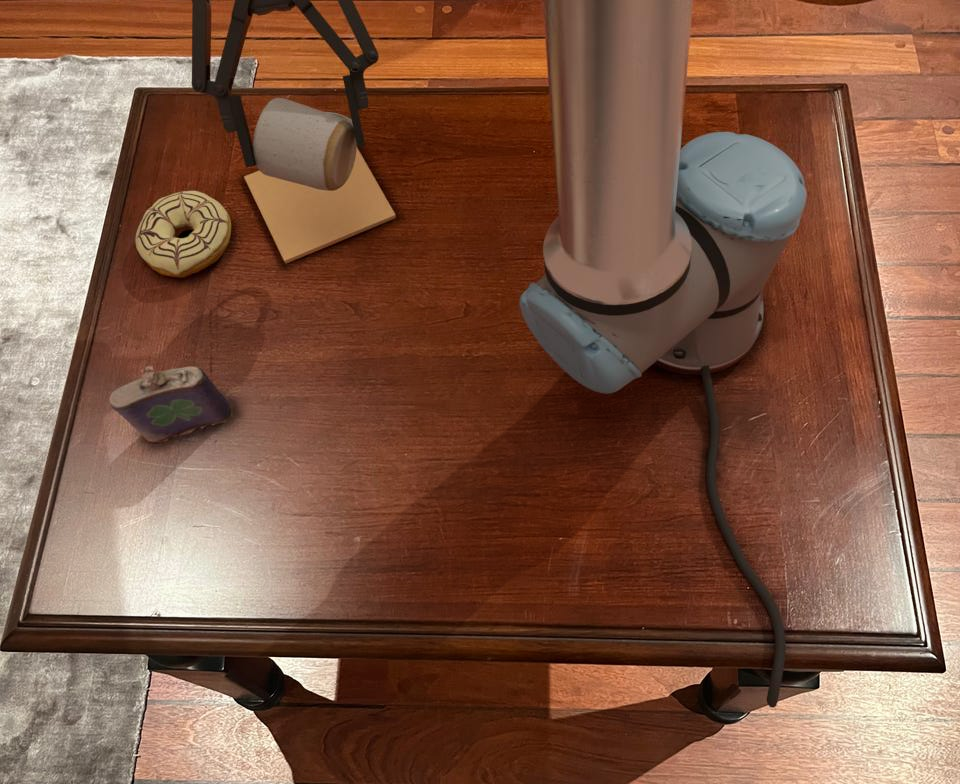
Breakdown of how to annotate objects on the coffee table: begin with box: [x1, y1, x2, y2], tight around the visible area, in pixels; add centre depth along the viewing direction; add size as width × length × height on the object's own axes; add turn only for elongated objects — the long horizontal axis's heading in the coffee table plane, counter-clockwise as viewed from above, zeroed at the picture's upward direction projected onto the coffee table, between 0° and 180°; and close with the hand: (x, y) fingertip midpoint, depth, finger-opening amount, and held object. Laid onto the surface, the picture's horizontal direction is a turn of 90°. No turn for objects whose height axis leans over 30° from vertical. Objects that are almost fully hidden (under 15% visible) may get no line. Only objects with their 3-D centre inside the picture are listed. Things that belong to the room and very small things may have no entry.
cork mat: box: [243, 147, 397, 265], centre depth 95 cm, size 14×14×1 cm
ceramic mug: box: [252, 97, 357, 191], centre depth 79 cm, size 11×8×8 cm
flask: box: [108, 365, 234, 443], centre depth 79 cm, size 9×3×11 cm, turn 109°
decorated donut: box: [135, 190, 232, 278], centre depth 92 cm, size 10×11×4 cm
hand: (307, 156), depth 78 cm, fingers closed on ceramic mug, 10 cm apart
